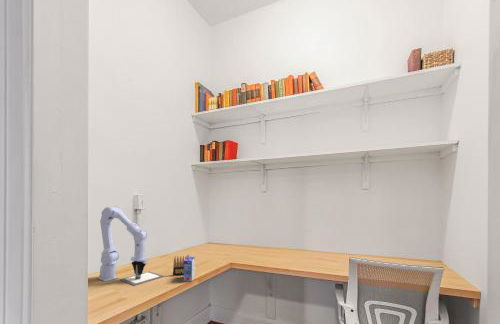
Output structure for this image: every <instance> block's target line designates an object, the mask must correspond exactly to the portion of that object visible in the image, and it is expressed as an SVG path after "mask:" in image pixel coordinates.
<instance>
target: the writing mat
mask: <svg viewBox="0 0 500 324" xmlns="http://www.w3.org/2000/svg"><path fill="white" fill-rule="evenodd" d="M163 277H164V275H162V274H158V273H156V272H153V271H145V272H142V274H141V278H140V279H135V274H134V275H132V276H129V277H128V276H127V277H123V278H120V279H119V280H120V281H121V282H123V283H125V284H128V285H131V286H138V285H141V284H143V283H148V282H150V281H154V280H158V279H161V278H163Z"/></svg>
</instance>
